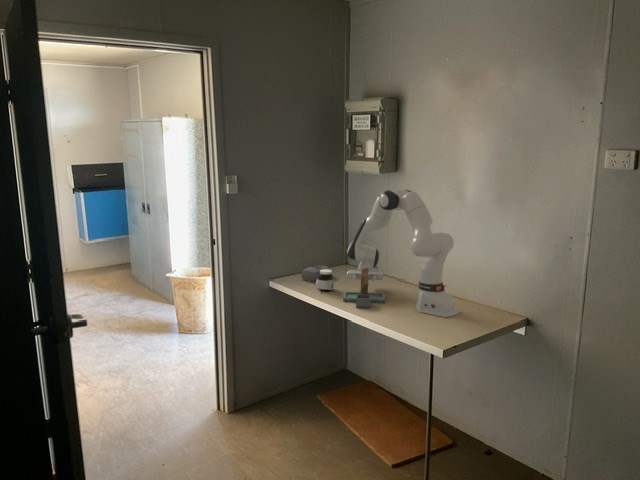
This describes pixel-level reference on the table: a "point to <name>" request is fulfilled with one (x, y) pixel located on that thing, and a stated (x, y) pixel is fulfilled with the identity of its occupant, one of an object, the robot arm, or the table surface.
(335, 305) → the table surface
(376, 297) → the tray
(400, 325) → the table surface
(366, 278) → the dowel
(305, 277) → the soft grey pack
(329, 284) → the spread jar
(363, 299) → the grey square sleeve
